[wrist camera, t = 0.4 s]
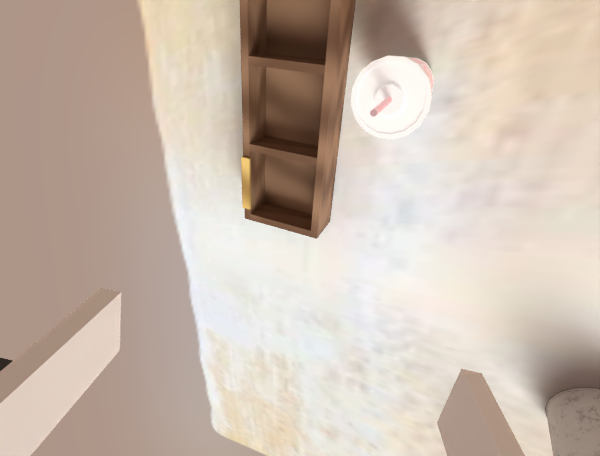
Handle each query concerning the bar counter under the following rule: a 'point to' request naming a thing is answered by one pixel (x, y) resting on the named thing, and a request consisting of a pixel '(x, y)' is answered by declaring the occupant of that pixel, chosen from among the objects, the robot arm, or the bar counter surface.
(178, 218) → the bar counter surface
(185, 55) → the bar counter surface
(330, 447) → the bar counter surface
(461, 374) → the robot arm
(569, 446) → the gray concrete cylinder
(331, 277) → the bar counter surface
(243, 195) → the brown wooden compartment tray
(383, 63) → the beverage cup
